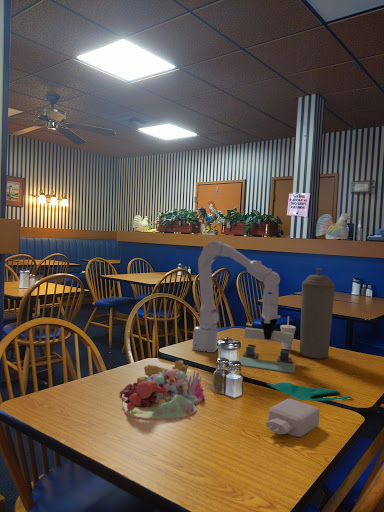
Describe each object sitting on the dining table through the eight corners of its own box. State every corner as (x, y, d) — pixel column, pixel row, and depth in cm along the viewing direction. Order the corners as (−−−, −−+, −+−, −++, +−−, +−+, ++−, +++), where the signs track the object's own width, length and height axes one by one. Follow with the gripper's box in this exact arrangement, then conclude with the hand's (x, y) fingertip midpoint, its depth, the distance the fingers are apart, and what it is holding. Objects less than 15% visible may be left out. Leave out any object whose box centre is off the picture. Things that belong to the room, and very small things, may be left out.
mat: (231, 364, 146) (231, 363, 146) (236, 357, 155) (236, 356, 155) (293, 373, 140) (293, 372, 140) (295, 365, 148) (295, 364, 148)
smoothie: (278, 350, 168) (280, 316, 167) (279, 346, 174) (281, 314, 173) (294, 352, 166) (296, 318, 165) (294, 348, 172) (296, 315, 172)
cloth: (257, 390, 124) (257, 383, 124) (274, 378, 135) (275, 371, 135) (345, 414, 110) (346, 406, 109) (357, 399, 121) (357, 391, 121)
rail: (244, 337, 158) (244, 328, 158) (245, 336, 160) (246, 327, 160) (291, 343, 152) (292, 334, 152) (292, 341, 155) (292, 332, 155)
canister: (334, 361, 156) (340, 270, 155) (301, 359, 157) (307, 269, 155) (324, 351, 169) (330, 268, 167) (294, 350, 169) (299, 266, 168)
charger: (253, 433, 95) (285, 414, 107) (288, 448, 89) (318, 427, 100) (254, 413, 95) (286, 397, 106) (290, 427, 89) (319, 408, 100)
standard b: (276, 361, 153) (277, 351, 152) (278, 356, 158) (279, 347, 158) (290, 363, 151) (291, 353, 151) (291, 358, 157) (292, 349, 157)
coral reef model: (114, 387, 120) (115, 356, 120) (190, 382, 128) (191, 353, 127) (127, 425, 97) (129, 387, 96) (219, 417, 104) (221, 381, 103)
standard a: (242, 356, 157) (243, 347, 156) (245, 352, 162) (246, 343, 162) (255, 358, 155) (256, 349, 155) (258, 354, 161) (258, 345, 161)
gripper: (279, 307, 148) (276, 344, 148) (282, 301, 161) (280, 335, 162) (259, 305, 150) (257, 341, 150) (264, 300, 163) (262, 333, 164)
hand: (268, 338), depth 156 cm, fingers closed on rail, 3 cm apart
